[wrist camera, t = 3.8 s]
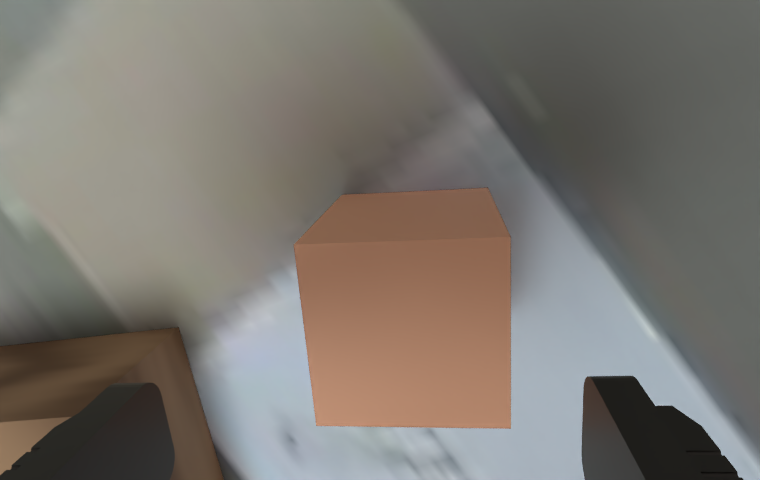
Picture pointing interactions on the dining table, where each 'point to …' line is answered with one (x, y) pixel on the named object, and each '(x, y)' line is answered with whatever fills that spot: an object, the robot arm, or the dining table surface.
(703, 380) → the dining table surface
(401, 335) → the terracotta block
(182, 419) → the walnut block
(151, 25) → the dining table surface
